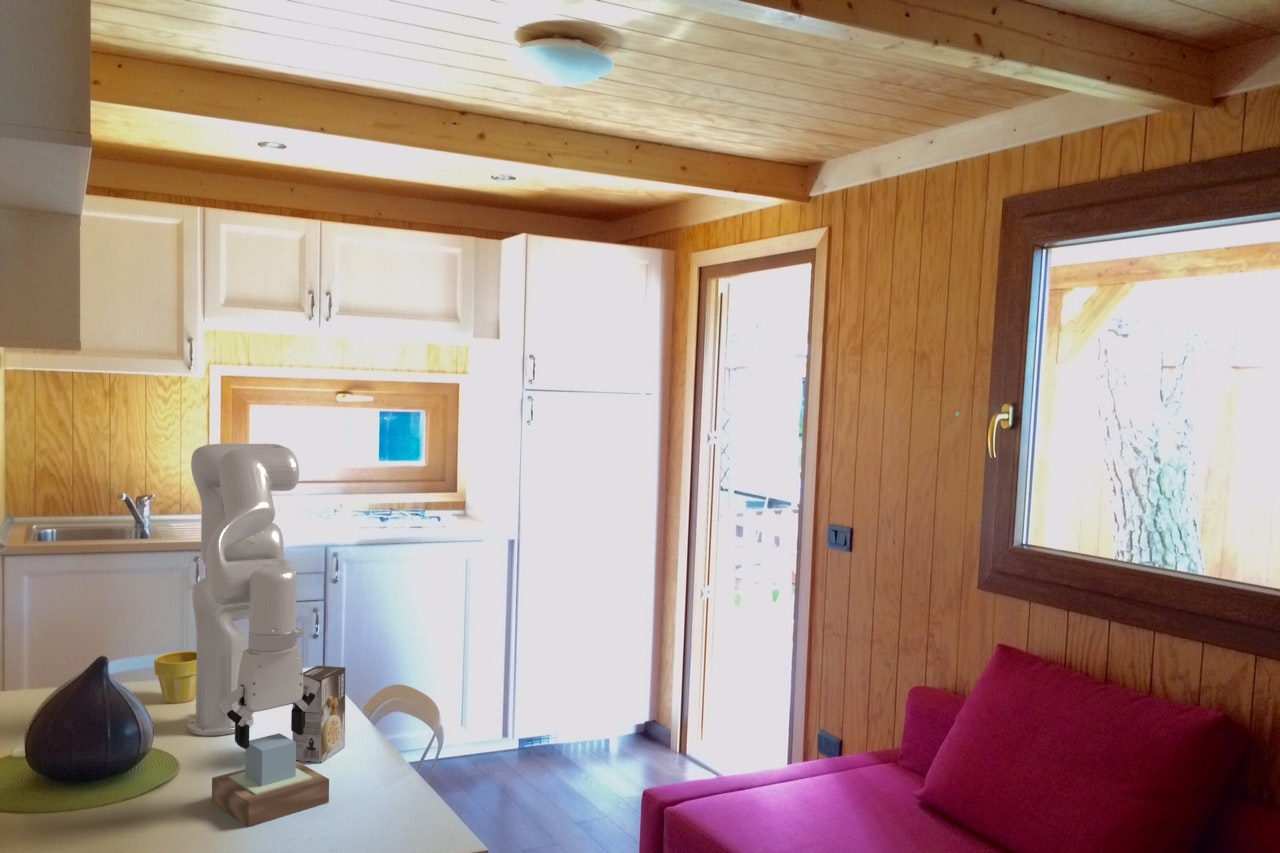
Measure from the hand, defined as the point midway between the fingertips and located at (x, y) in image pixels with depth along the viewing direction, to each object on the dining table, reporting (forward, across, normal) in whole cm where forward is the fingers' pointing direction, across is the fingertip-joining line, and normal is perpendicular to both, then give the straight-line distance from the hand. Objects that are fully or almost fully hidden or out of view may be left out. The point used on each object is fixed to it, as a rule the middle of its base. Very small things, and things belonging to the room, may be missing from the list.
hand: (270, 739), depth 167 cm
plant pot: (+12, -11, -66) cm, 68 cm away
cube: (+6, 0, 0) cm, 6 cm away
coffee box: (+11, -17, -14) cm, 25 cm away
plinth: (+11, 0, +1) cm, 11 cm away
